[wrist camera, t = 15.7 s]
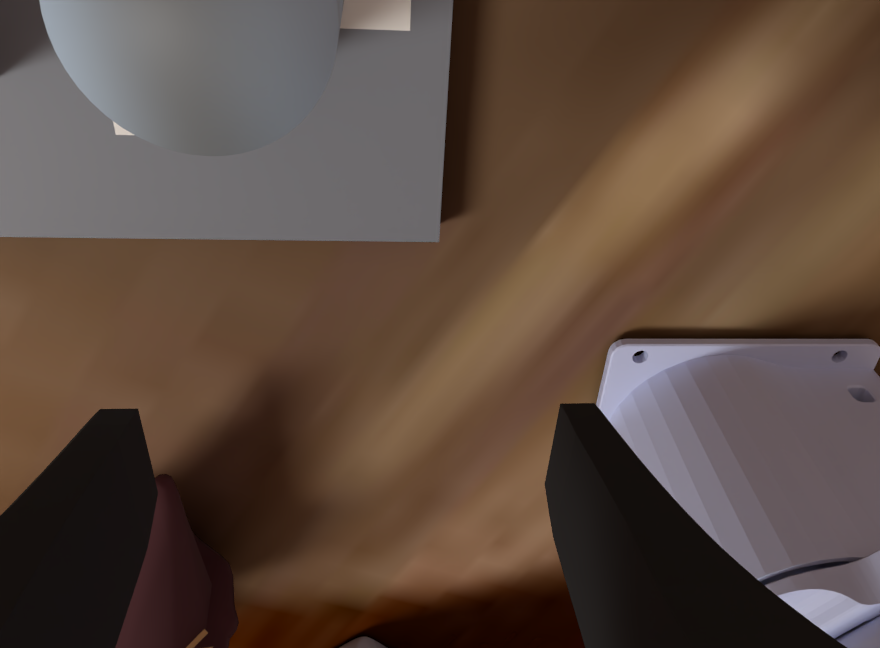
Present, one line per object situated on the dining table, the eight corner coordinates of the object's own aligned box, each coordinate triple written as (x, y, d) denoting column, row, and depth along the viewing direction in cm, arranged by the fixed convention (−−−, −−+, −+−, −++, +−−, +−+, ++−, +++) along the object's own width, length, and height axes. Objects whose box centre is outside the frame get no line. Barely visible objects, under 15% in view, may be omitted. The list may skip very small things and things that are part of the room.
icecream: (-38, 523, 19) (-32, 749, 28) (229, 633, 20) (153, 822, 29) (110, 361, 25) (76, 592, 34) (316, 449, 25) (229, 654, 34)
